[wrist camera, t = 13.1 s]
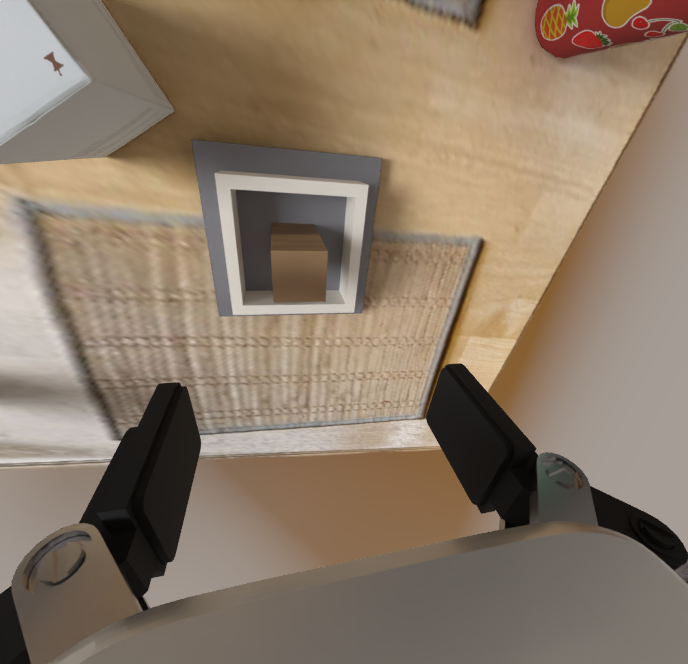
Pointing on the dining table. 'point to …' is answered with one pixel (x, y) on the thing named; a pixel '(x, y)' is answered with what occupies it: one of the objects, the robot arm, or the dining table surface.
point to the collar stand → (285, 221)
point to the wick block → (298, 263)
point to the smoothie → (606, 24)
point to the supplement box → (70, 83)
